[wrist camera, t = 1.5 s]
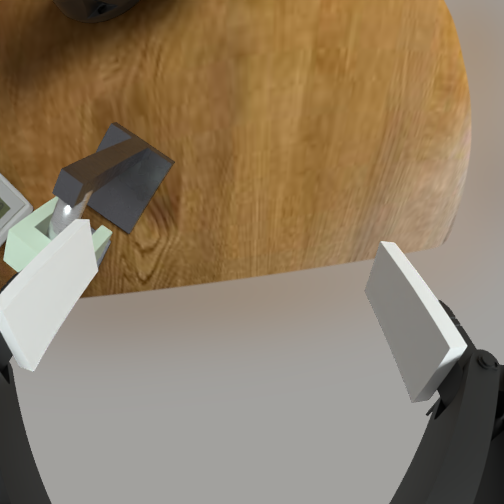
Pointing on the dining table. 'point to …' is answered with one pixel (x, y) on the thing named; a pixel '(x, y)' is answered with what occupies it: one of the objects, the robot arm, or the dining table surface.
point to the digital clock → (11, 207)
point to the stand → (110, 181)
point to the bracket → (40, 237)
